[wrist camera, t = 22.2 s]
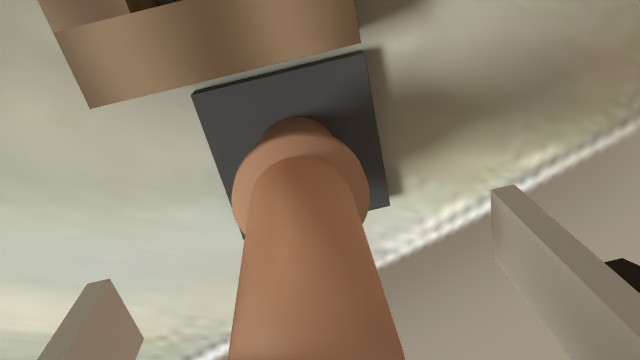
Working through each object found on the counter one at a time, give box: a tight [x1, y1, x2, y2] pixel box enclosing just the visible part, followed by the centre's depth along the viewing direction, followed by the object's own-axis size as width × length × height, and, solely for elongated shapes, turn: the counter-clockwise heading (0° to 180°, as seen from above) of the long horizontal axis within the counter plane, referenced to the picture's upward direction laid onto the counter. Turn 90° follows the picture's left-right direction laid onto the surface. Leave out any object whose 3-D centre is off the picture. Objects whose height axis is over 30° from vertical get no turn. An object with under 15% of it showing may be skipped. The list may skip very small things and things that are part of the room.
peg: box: [228, 117, 405, 360], centre depth 16 cm, size 6×6×14 cm
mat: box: [191, 50, 390, 240], centre depth 23 cm, size 9×9×1 cm
